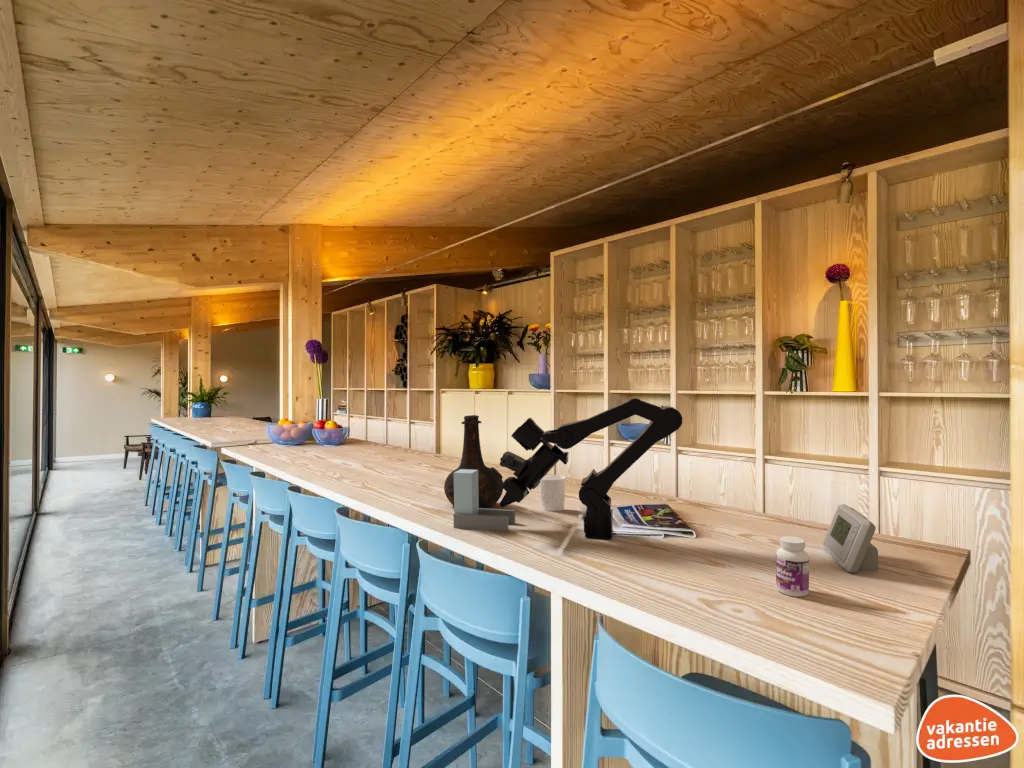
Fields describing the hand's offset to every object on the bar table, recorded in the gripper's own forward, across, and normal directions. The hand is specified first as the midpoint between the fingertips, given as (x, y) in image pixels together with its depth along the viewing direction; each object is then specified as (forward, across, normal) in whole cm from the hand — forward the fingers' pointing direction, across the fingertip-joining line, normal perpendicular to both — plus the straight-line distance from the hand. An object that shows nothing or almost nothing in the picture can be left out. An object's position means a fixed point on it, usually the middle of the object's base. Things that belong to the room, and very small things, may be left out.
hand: (500, 505), depth 139 cm
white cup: (-2, -21, +11) cm, 24 cm away
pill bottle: (-39, +25, +50) cm, 68 cm away
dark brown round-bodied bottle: (+15, -20, -6) cm, 26 cm away
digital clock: (-49, +6, +61) cm, 78 cm away
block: (+10, 0, -3) cm, 11 cm away
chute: (+8, 0, +1) cm, 8 cm away
